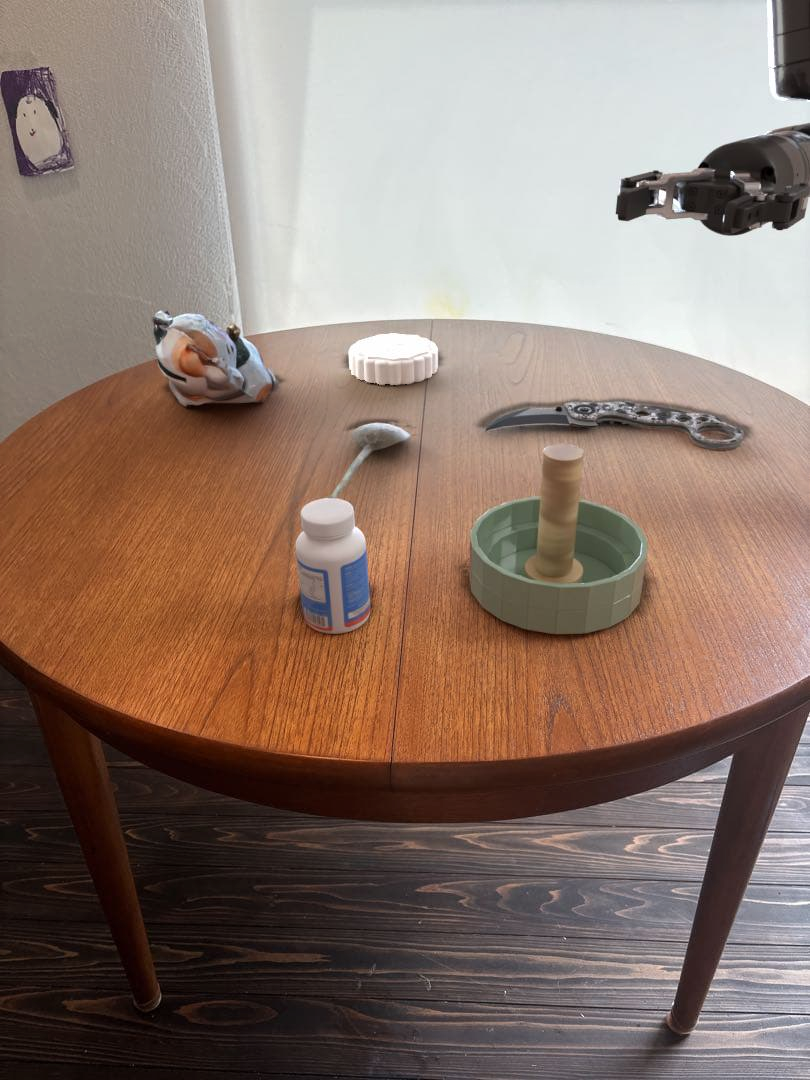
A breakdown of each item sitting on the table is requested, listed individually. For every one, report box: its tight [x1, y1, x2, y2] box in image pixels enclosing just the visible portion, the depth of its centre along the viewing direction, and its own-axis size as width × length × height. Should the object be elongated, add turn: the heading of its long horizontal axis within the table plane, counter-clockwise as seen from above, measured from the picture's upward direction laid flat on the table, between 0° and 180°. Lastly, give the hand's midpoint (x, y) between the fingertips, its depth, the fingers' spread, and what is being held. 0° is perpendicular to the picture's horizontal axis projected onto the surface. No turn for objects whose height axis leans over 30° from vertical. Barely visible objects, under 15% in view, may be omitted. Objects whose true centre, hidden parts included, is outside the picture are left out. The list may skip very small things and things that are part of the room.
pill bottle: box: [295, 497, 371, 635], centre depth 67 cm, size 6×5×10 cm
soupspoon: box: [326, 422, 411, 499], centre depth 90 cm, size 22×3×7 cm
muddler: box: [524, 443, 585, 584], centre depth 69 cm, size 5×5×12 cm
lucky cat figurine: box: [151, 309, 279, 406], centre depth 106 cm, size 15×12×14 cm
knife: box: [483, 400, 745, 451], centre depth 99 cm, size 28×2×10 cm
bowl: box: [468, 496, 649, 635], centre depth 71 cm, size 14×14×5 cm
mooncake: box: [348, 332, 439, 386], centre depth 117 cm, size 12×12×4 cm
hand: (673, 213), depth 66 cm, fingers open, 8 cm apart
